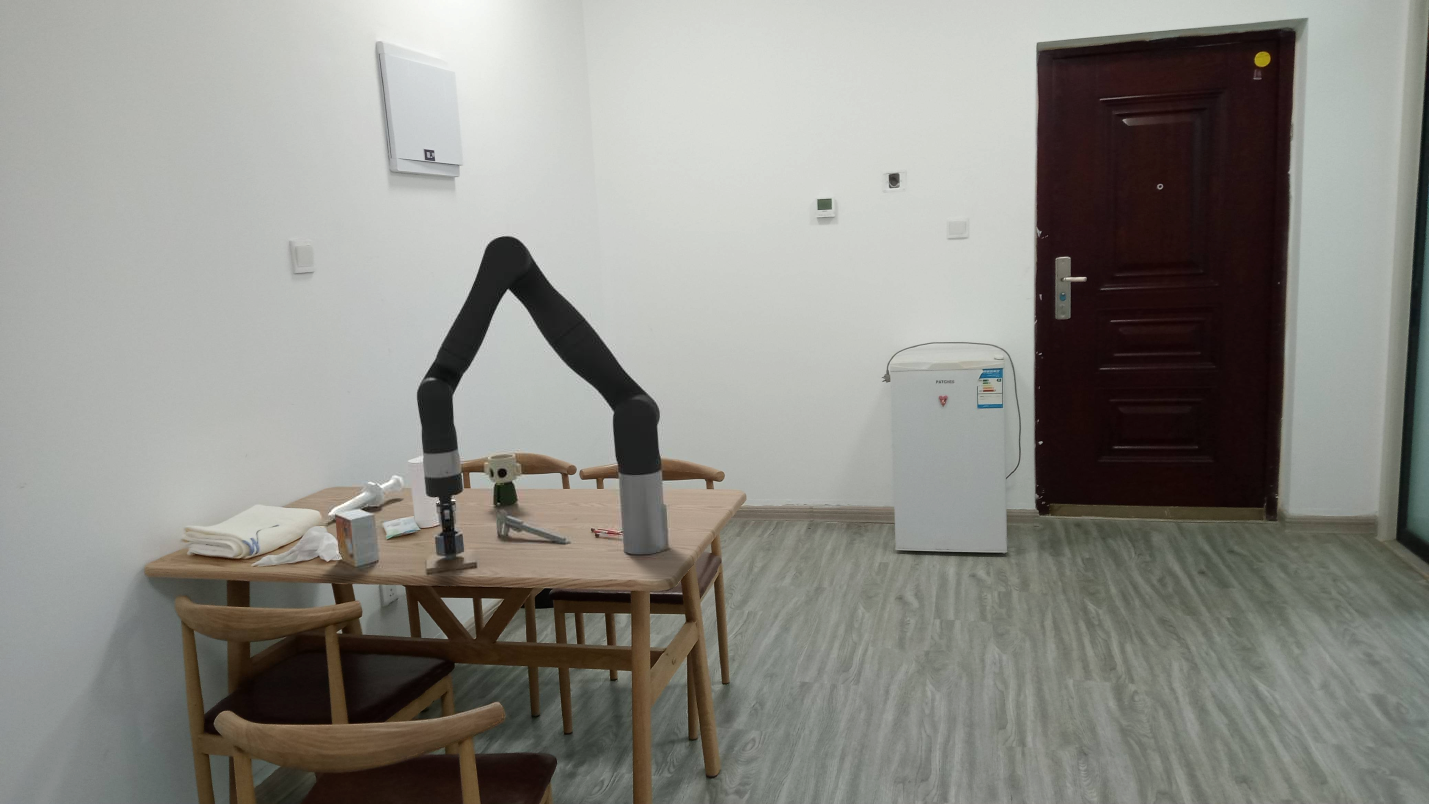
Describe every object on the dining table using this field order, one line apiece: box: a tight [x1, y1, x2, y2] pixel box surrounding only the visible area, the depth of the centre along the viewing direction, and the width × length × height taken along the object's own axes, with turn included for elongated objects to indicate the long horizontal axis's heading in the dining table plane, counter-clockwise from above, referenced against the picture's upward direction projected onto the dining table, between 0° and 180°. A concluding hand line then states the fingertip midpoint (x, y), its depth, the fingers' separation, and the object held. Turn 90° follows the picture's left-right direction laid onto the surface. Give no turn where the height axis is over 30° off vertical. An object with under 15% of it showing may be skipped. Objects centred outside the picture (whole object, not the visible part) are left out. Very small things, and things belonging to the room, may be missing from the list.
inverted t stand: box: [425, 548, 478, 574], centre depth 198 cm, size 10×10×6 cm
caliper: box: [495, 508, 571, 545], centre depth 213 cm, size 20×1×6 cm, turn 62°
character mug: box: [483, 453, 523, 507], centre depth 243 cm, size 11×7×13 cm, turn 70°
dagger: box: [327, 474, 405, 520], centre depth 247 cm, size 8×6×28 cm
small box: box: [334, 508, 380, 568], centre depth 203 cm, size 8×6×10 cm
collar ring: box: [434, 529, 465, 556], centre depth 198 cm, size 6×6×4 cm
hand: (450, 549), depth 198 cm, fingers closed on collar ring, 5 cm apart
